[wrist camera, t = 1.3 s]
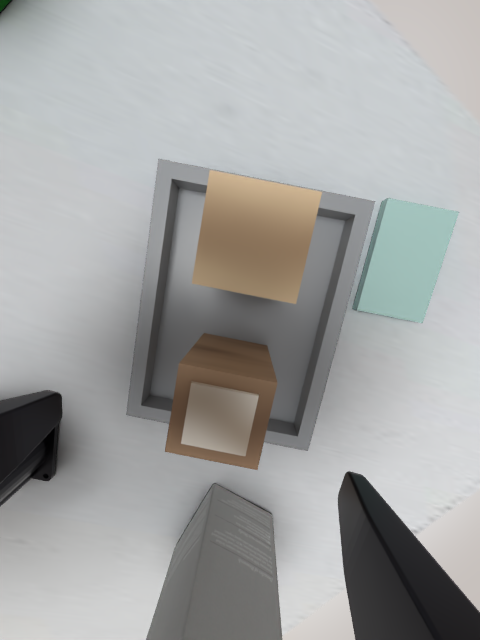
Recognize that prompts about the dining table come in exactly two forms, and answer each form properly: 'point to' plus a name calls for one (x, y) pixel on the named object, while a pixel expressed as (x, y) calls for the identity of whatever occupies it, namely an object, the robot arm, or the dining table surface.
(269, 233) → the oak box
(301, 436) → the tray
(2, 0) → the milk carton
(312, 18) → the dining table surface
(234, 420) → the walnut box
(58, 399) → the robot arm
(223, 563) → the skincare box
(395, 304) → the teal pad
